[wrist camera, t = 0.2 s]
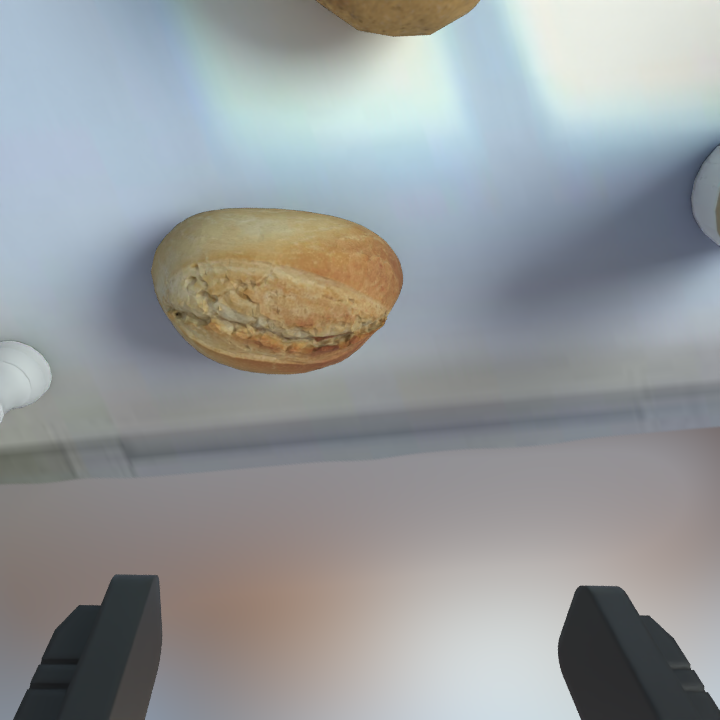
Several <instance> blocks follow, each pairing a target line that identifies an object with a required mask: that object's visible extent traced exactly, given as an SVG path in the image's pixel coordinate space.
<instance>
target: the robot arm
mask: <svg viewBox="0 0 720 720" xmlns="http://www.w3.org/2000/svg"><path fill="white" fill-rule="evenodd" d="M161 646H162V622H161V604H160V587H159V578H158V576H157V575H115V576H114V577H113V578H112V580H111V582H110V584H109V587H108V589H107V592H106V594H105V597H104V599H103V602H102V604H101V606H98V605H97V606H96V605H95V606H94V605H79V606H78V607H77V608H76V609H75V610H74V611H73V612H72V613H71V614H70V615H69V616H68V617H67V618H66V619H65V620H64V621H63V622H62V623H61V624H60V625H59V626H58V627H57V629H55V631H54V633H53V635H52V638H51V640H50V642H49V644H48V646H47V648H46V651H45V653H44V655H43V657H42V661H41V664H40V665H39V666H38V668H37V670H36V672H35V674H34V676H33V678H32V681H31V683H30V688H29V689H28V690H27V691H26V693H25V696H24V698H23V700H22V702H21V704H20V706H19V708H18V711H17V713H16V715H15V717H14V719H13V720H145V716H146V713H147V708H148V705H149V701H150V697H151V693H152V690H153V686H154V682H155V678H156V675H157V671H158V666H159V661H160V654H161ZM558 657H559V664H560V668H561V672H562V674H563V677H564V679H565V682H566V684H567V686H568V689H569V691H570V694H571V696H572V698H573V700H574V703H575V706H576V708H577V711H578V713H579V716H580V718H581V720H720V710H719V709H718V707H717V706H716V704H715V702H714V701H713V699H712V698H711V696H710V695H709V693H708V692H705V690H704V685H703V684H702V682H701V681H700V679H699V677H698V676H697V674H696V673H695V671H694V670H691V668H690V663H689V662H688V660H687V659H686V657H685V655H684V654H683V652H682V651H681V649H680V648H679V646H678V645H677V643H676V641H675V640H674V638H673V637H672V636H670V635H669V634H668V633H667V632H666V631H665V630H664V629H663V628H662V627H661V626H660V625H659V624H658V623H656V622H655V621H654V620H653V619H652V618H651V617H650V616H640V615H639V614H638V612H637V610H636V609H635V607H634V606H633V604H632V602H631V601H630V599H629V597H628V595H627V594H626V593H625V591H624V590H623V589H622V588H620V587H617V586H579V587H578V588H577V589H576V591H575V594H574V597H573V600H572V603H571V606H570V609H569V611H568V614H567V617H566V620H565V623H564V626H563V629H562V632H561V635H560V638H559V643H558Z"/></svg>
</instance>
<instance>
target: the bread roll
mask: <svg viewBox="0 0 720 720" xmlns="http://www.w3.org/2000/svg"><path fill="white" fill-rule="evenodd" d="M151 274H152V279H153V284H154V288H155V293H156V295H157V298H158V301H159V303H160V305H161V307H162V309H163V311H164V312H165V314H166V315H167V317H168V318H169V320H170V321H171V322H172V324H173V325H174V327H175V328H176V330H177V331H178V332H179V333H180V334H181V336H182V337H183V338H184V339H185V340H186V341H187V342H188V343H189V344H190V345H191V346H193V347H194V348H195V349H196V350H197V351H198V352H200V353H201V354H203V355H204V356H206V357H207V358H210V359H212V360H214V361H216V362H218V363H221V364H224V365H227V366H230V367H232V368H236V369H239V370H243V371H249V372H256V373H265V374H297V373H306V372H309V371H313V370H317V369H321V368H324V367H327V366H329V365H333V364H336V363H339V362H341V361H343V360H344V359H346V358H348V357H349V356H350V355H351V354H353V353H354V352H356V351H357V350H358V349H359V348H360V347H361V346H362V345H363V344H364V343H365V342H366V341H367V340H368V339H369V338H370V337H371V336H372V335H373V334H374V333H375V332H376V331H377V330H378V329H380V328H381V327H382V326H383V325H384V324H385V321H386V320H387V316H388V314H389V312H390V311H391V309H392V307H393V306H394V304H395V302H396V300H397V299H398V296H399V294H400V291H401V288H402V284H403V273H402V269H401V264H400V262H399V260H398V258H397V256H396V254H395V253H394V251H393V250H392V249H391V247H390V246H389V245H388V244H387V242H386V241H385V240H383V239H382V238H381V237H379V236H378V235H377V234H375V233H374V232H372V231H370V230H369V229H367V228H365V227H363V226H361V225H359V224H356V223H354V222H351V221H348V220H345V219H342V218H338V217H334V216H329V215H323V214H317V213H312V212H305V211H296V210H286V209H265V208H229V209H220V210H212V211H207V212H202V213H199V214H196V215H193V216H191V217H189V218H187V219H186V220H184V221H183V222H181V223H179V224H178V225H176V226H175V227H174V228H173V229H172V230H171V231H170V232H169V233H168V234H167V235H166V236H165V238H164V239H163V240H162V242H161V243H160V244H159V246H158V247H157V249H156V252H155V255H154V259H153V264H152V269H151Z"/></svg>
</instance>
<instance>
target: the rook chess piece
mask: <svg viewBox="0 0 720 720" xmlns="http://www.w3.org/2000/svg"><path fill="white" fill-rule="evenodd" d="M51 379H52V375H51V370H50V366H49V364H48V363H47V361H46V360H45V358H44V357H43V356H42V354H40V353H39V352H38V351H36V350H35V349H34V348H32V347H31V346H29V345H26V344H23V343H20V342H17V341H1V342H0V423H1V422H2V419H3V415H4V414H5V413H7V412H8V411H9V410H11V409H15V408H22V407H24V406H27V405H29V404H32V403H34V402H36V401H37V399H38V398H39V397H41V396H42V395H43V394H44V393H45V392H46V391H47V390H48V389H49V387H50V383H51Z"/></svg>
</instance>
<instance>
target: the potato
mask: <svg viewBox="0 0 720 720" xmlns="http://www.w3.org/2000/svg"><path fill="white" fill-rule="evenodd" d="M316 1H317V2H318V3H320V4H321V5H323V6H324V7H325V8H327V9H328V10H329V11H331V12H332V13H334V14H335V15H337V16H338V17H339V18H341V19H342V20H344V21H345V22H347V23H348V24H349V25H351V26H352V27H354V28H355V29H357V30H359V31H364V32H370V33H376V34H382V35H388V36H393V37H394V36H416V35H431V34H433V33H434V32H436V31H438V30H439V29H441V28H443V27H445V26H446V25H448V24H450V23H452V22H453V21H455V20H457V19H458V18H460V17H462V16H464V15H465V14H467V13H468V12H469V11H471V10H472V9H473V8H474V7H475V6H476V5H477V4H478V2H479V1H480V0H316Z"/></svg>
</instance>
